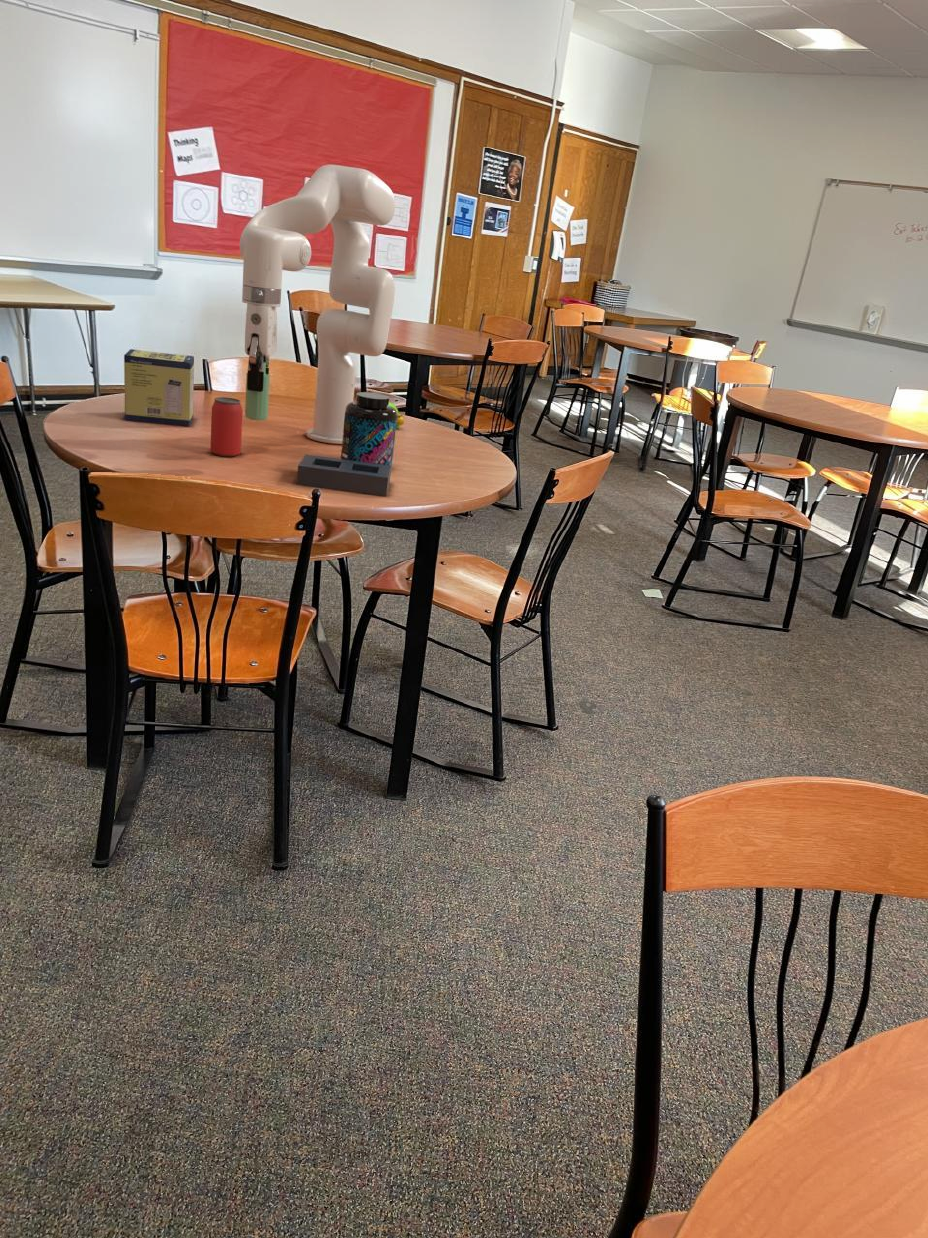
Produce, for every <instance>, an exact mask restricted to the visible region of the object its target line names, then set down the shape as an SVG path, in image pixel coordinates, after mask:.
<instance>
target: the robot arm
mask: <svg viewBox="0 0 928 1238" xmlns="http://www.w3.org/2000/svg"><path fill="white" fill-rule="evenodd" d="M395 211H396V197H395V195H394V192H393V191H392V189H391V188H390V186H389V185H388V184H387V183H385V182H384V180H382V179H381V178H379V177H378V176H377V175H376V174H374V173H373V172H372V171H369V170H367V169H364V168H359V167H352V166H347V165H346V166H345V165H339V164H323V165H322V166H320V167H319V168H317V169H316V170H315V171H314V173H313V174H312V175H311V176H310V177H309V179H308V180H307V181H306V183H305V184H304V185H303V186H302V188H301V189H300V190H299V191H298V192H297V194H296V195H295V196H292V197H288V198H285V199H283V200H280V201H277V202H275V203H273V204H269V205H267V206H265V207H263V208H262V209H260V210H259V211H257V212H256V213H255V214H254V215H253V216H252V217H251V219H250V220H249V221H248V222H247V224H246V225H245V227H244V228H243V230H242V233H241V235H240V239H239V252H240V255H241V257H242V258H243V262H242V263H243V265H242V267H243V268H242V288H241V289H242V291H241V292H242V294H241V302H242V303H244V304H246V313H245V327H244V328H245V329H244V352H245V354H246V355H247V356H248V363H247V373H248V374H247V373H246V377H247V390H250V391H258V392H262V391H263V383H264V372H262V370H263V362H265V363H266V373H265V374H268V375H270V368H269V366H270V357H272V356H273V355H274V354H275V353H276V352H277V350H278V349H277V347H278V346H277V345H278V310H277V308H280V307H281V305H282V303H281V302H282V301H281V300H282V286H283V285H282V283H283V271H287V272H299V271H302V270H304V269H305V268H306V267H307V266H309V263H310V261H311V258H312V247H311V243H310V242H309V240H308V239H307V237H306V236H307V235H313V234H317V233H320V232H322V231H323V230H325V229H326V228H327V227H328V225H329V224H330V226H331V229H332V232H333V233H332V234H333V251H332V258H331V265H330V266H331V267H330V273H329V280H328V281H329V282H328V293H329V296H330V298H331V299H332V300H333V301H335V302H336V303H339V304H342V305H348V306H353V307H357V308H358V307H359V308H363V309H368V311H369V312H368V313H369V314H368V313H363V312H357V311H351V310H346V309H342V308H341V309H340V308H330V309H326V310H324V311H322V312H321V313H320V314H319V316H318V318H317V321H316V337H317V353H318V354H317V355H318V356H317V357H318V358H317V372H316V386H315V399H314V411H313V426H312V428H310V429H307V430H306V437H307V438H309V439H311V440H313V441H315V442H321V443H325V444H333V445H342V440H343V429H344V418H345V409H346V406H347V405H348V404H349V403H351V402H354V399H355V390H356V389H355V388H356V378H357V370H356V365H355V363H354V360H353V358H352V357H351V354H357V355H362V356H368V357H379V356H381V355H383V353H384V352H385V350H386V347H387V345H388V340H389V334H390V327H391V320H392V314H393V307H394V301H395V293H396V288H395V279H394V277H393V275H392V273H391V272H390V271H389V270H387V269H384V268H381V267H376V266H369V258H370V251H371V243H370V239H369V236H368V234H367V232H366V229H365V228H364V226H363V225H362V224H366V225H372V226H378V227H379V226H385V225H388V224H389V223H390V222H391V221H392V219H393V218H394V215H395ZM259 361H260V363H259Z"/></svg>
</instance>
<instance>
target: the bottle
mask: <svg viewBox="0 0 928 1238" xmlns="http://www.w3.org/2000/svg"><path fill="white" fill-rule="evenodd" d="M259 363H260V361H259ZM266 368H267V367H266V363H265V362H263V370H262V372H264V383H263V391H262V392H258V391H250V390H247V376H246V379H245V381H246V382H245V405H244V406H245V407H244V417H245V418H246V419H248V420H252V421H267V420H268V417H269V401H270V381H271V380H270V379H271V375H270V374H269V375H268V374H265V373H266ZM247 374H248V372H246V375H247Z"/></svg>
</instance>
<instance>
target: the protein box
mask: <svg viewBox="0 0 928 1238" xmlns="http://www.w3.org/2000/svg"><path fill="white" fill-rule="evenodd" d="M123 370H124V371H123V372H124V377H123V378H124V379H123V380H124V381H123V382H124V385H123V386H124V421H128V422H129V421H130V422H137V423H138V422H140V423H148V424H149V423H150V424H159V425H167V426H168V425H170V426H179V427H180V426H181V427H190V426H191V425H192V422H193V419H194V391H195V389H194V388H195V387H194V385H195V383H194V382H195V356H193V355H187V354H176V353H169V352H168V353H167V352H159V351H149V350H141V349H140V350H139V349H134V348H131V349H129V350H128V351H127V352H126V353H125V354H124V355H123Z"/></svg>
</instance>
